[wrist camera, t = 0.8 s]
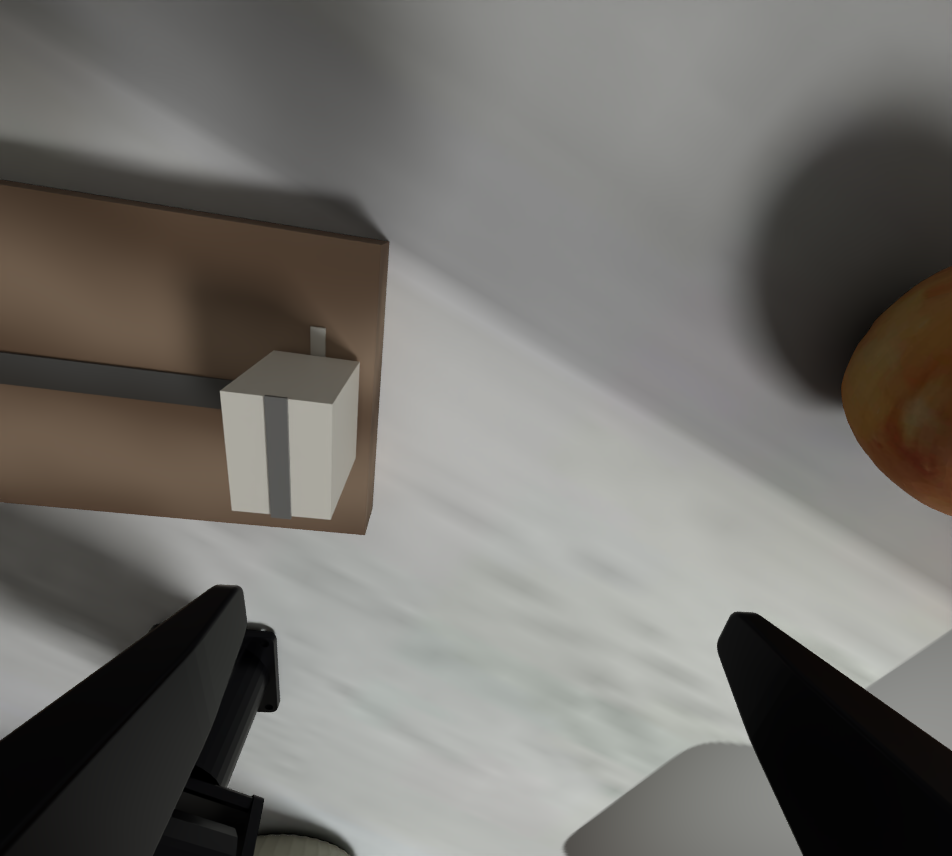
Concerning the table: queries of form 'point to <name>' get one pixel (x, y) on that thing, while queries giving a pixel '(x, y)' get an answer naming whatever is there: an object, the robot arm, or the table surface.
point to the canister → (294, 846)
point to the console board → (166, 348)
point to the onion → (907, 392)
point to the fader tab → (291, 434)
